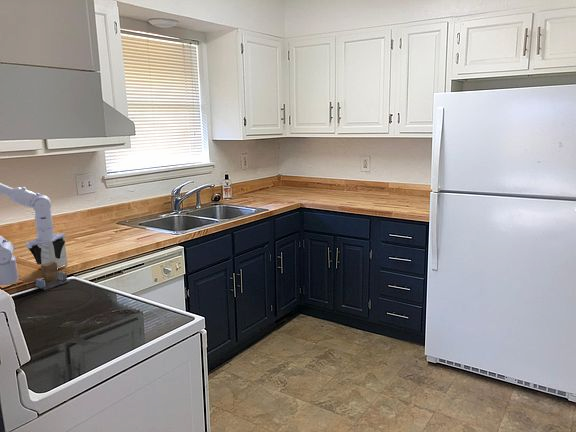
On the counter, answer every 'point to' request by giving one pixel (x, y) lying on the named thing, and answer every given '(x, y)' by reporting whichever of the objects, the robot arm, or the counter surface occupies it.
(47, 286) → the vise frame
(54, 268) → the walnut block
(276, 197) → the counter surface
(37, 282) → the vise jaw
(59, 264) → the supplement box
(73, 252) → the counter surface
